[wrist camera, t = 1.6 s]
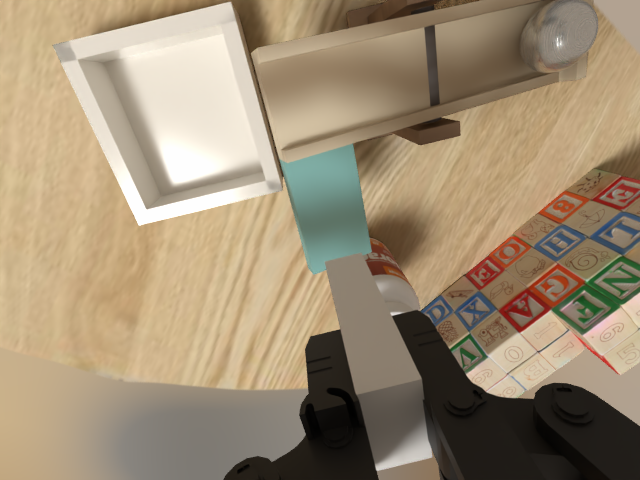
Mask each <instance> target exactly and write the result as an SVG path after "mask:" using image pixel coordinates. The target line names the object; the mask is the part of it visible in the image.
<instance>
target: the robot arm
mask: <svg viewBox="0 0 640 480" xmlns="http://www.w3.org/2000/svg"><path fill="white" fill-rule="evenodd" d="M325 266H326V270H327V274H328V278H329V283H330V287H331V291H332V295H333V300H334V304H335V308H336V312H337V317H338V321H339V325H340V330H336V331H331V332H327V333H323V334H319V335H315V336H311V337H310V339H309V341H308V344H307V346H306V348H305V353H306V363H307V364H306V366H307V378H308V390H309V394H308V395H307V396H306V398H305V399H304V401H303V402H302V404H301V408H300V414H299V416H300V419H301V421H302V424H303V427H304V430H305V433H306V436H305V437H304V439H303V440H302V441H301V442H300V443H299V445H298V446H297V447H295V448H294V449H293V450H291V451H290V452H288V453H287V454H285V455H283V456H282V457H280V458H278V459H277V460H276V461H273V462H271V461H270V460H269V459H268V458H263V457H259V456H257V457H252V458H247V459H245V460H243V461H242V462H240V463H238V464H236V465H235V466H234V467H233V468H232V469H231V470H230V471H229V472H228V473H227V475H226V476H225V478H224V480H379V479H378V475H377V471H378V470H382V469H387V468H391V467H395V466H399V465H403V464H407V463H411V462H415V461H419V460H423V459H428V458H432V452H431V448H432V451H433V453H434V456H435V458H436V460H437V463H438V465H439V473H440V480H640V426H639V425H637V424H636V423H635V422H633V421H632V420H630V419H629V418H627V417H626V416H625V415H623V414H622V413H620V412H619V411H618V410H616V409H615V408H613V407H612V406H610V405H609V404H608V403H606V402H605V401H603V400H602V399H600V398H599V397H598V396H596V395H595V394H593V393H591V392H589V391H587V390H585V389H583V388H581V387H578V386H574V385H571V384H567V383H552V384H548V385H545V386H542V387H541V388H540V389H539V390H538V391H537V392H536V393H535V397H534V399H523V398H507V397H500V396H496V395H493V394H489V393H487V392H486V391H485V390H484V389H483V388H481V387H480V386H478V385H476V384H474V383H472V382H471V380H470V379H469V378H468V377H467V375H466V374H465V372H464V371H463V369H462V367H461V366H460V364H459V363H458V361H457V360H456V358H455V357H454V355H453V353H452V352H451V350H450V349H449V347H448V346H447V344H446V342H445V341H444V340H443V338H442V336H441V335H440V333H439V332H438V331H437V328H436V327H435V325H434V324H433V322H432V321H431V319H430V318H429V317H428V316H426V315H425V314H423V313H422V312H420V311H418V310H414V311H410V312H406V313H401V314H397V315H393V316H391V314H390V311H389V309H388V307H387V305H386V303H385V301H384V299H383V297H382V295H381V293H380V290H379V288H378V286H377V284H376V282H375V280H374V278H373V276H372V274H371V272H370V270H369V267H368V265H367V263H366V261H365V259H364V257H363V255H362V253H358V254H353V255H349V256H345V257H341V258H337V259H333V260H329V261H325Z"/></svg>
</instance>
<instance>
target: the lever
mask: <svg viewBox="0 0 640 480" xmlns="http://www.w3.org/2000/svg"><path fill="white" fill-rule="evenodd" d="M553 1H555V0H481V1H476V2H471V3H467V4H462V5H457V6H452V7H448V8H443V9H438V10H434V5H432V6H427V7H423V8H419V9H416V10H414V11H411V15H410V16H405V17H400V18H396V19H391V20H386V21H381V22H377V23H372V24H367V25H362V26H358V27H353V28H348V29H343V30H339V31H334V32H329V33H324V34H320V35H315V36H310V37H305V38H301V39H296V40H291V41H286V42H282V43H277V44H272V45H267V46H263V47H258V48H256V49H255V50H254V51H253V52H252V53H251V56H252V60H253V63H254V67H255V71H256V75H257V78H258V82H259V86H260V89H261V93H262V97H263V101H264V104H265V108H266V112H267V116H268V119H269V123H270V127H271V130H272V134H273V138H274V142H275V145H276V149H277V153H278V157H279V160H280V164H281V168H282V171H283V175H284V179H285V183H286V186H287V190H288V194H289V197H290V201H291V205H292V209H293V212H294V216H295V220H296V224H297V227H298V231H299V235H300V238H301V242H302V246H303V250H304V253H305V257H306V261H307V264H308V268H309V269H310V271H311V272H312V273H313V274H317V273H320V272H322V271H325V270H326V266H325V261H329V260H333V259H337V258H341V257H345V256H349V255H353V254H358V253H362V255H366V254H368V253H371V252H372V250H371V244H370V239H369V233H368V227H367V221H366V216H365V210H364V204H363V199H362V193H361V187H360V181H359V176H358V170H357V164H356V159H355V153H354V147H353V143H356V142H359V141H363V140H366V139H369V138H373V137H376V136H379V135H383V134H386V133H389V132H393V131H396V130H399V129H403V128H406V127H409V126H413V125H416V124H419V123H432V122H437V121H440V120H441V119H442V117H443V116H446V115H449V114H453V113H456V112H459V111H463V110H466V109H469V108H473V107H476V106H479V105H482V104H486V103H489V102H492V101H496V100H499V99H502V98H506V97H509V96H512V95H516V94H519V93H522V92H526V91H529V90H532V89H536V88H539V87H542V86H546V85H549V84H552V83H556V82H560V81H573V80H579V79H582V78H585V77H586V71H587V60H588V52H587V53H586V55H585V56H584V57H583V58H582V59H581V60H579V61H578V62H577V63H575V64H574V65H572V66H571V67H569V68H567V69H565V70H562V71H559V72H554V73H541V72H537V71H535V70H532V69H531V68H529V67H528V66H527V65H526V64H525V63H524V61H523V59H522V57H521V55H520V49H519V44H520V37H521V34H522V31H523V29H524V27H525V25H526V24H527V22H528V21H529V19H530V18H531V17H532V16H533V15H534V14H535V13H536V12H537V11H538V10H539V9H540V8H542V7H543V6H545V5H547V4H548V3H550V2H553ZM583 1H585V2H587V3H588V4H589V5H591V6H592V8H593V0H583Z"/></svg>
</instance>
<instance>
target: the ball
mask: <svg viewBox="0 0 640 480" xmlns="http://www.w3.org/2000/svg"><path fill="white" fill-rule="evenodd" d="M597 31H598V18H597V15H596V12H595V11H594V9H593V8H592V6H591V5H589V4H588V3H587V2H585V1H583V0H555V1H553V2H550V3H548V4H547V5H545V6H543V7H542V8H540V9H539V10H538V11H537V12H536V13H535V14H534V15H533V16H532V17H531V18H530V19H529V21H528V22H527V24H526V25H525V27H524V29H523V31H522V34H521V37H520V44H519V49H520V55H521V57H522V59H523V61H524V63H525V64H526V65H527V66H528V67H529V68H531V69H532V70H535V71H537V72H541V73H554V72H559V71H562V70H565V69H567V68H569V67H571V66H572V65H574V64H575V63H577V62H578V61H579V60H581V59H582V58H583V57H584V56H585V55H586V53H587V52H588V51H589V50H590V48H591V47H592V45H593V43H594V41H595V38H596V35H597Z"/></svg>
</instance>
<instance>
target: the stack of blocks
mask: <svg viewBox="0 0 640 480" xmlns="http://www.w3.org/2000/svg"><path fill="white" fill-rule="evenodd" d="M421 312H422V313H423V314H425V315H426V316H428V317H429V318H430V319H431V321H432V322H433V324H434V325H435V327H436V328H437V331H438V332H439V333H440V335H441V336H442V338H443V340H444V341H445V342H446V344H447V346H448V347H449V349H450V350H451V352H452V353H453V355H454V357H455V358H456V360H457V361H458V363H459V364H460V366H461V367H462V369H463V371H464V372H465V374H466V375H467V377H468V378H469V379H470V380H471V382H472V383H474V384H476V385H478V386H480V387H481V388H483V389H484V390H485V391H486V392H487V393H489V394H493V395H496V396H500V397H507V398H517V397H519V396H520V395H521V394H523V393H524V392H525V390H530V389H531V388H532V387H534V386H535V385H537V384H538V383H539V382H541V381H542V380H544V379H545V378H546V377H548V376H549V375H551V374H552V373H553V372H555V370H556V369H559V368H561V367H562V366H564V365H565V364H566V363H568V362H569V361H570V360H572V359H573V358H574V357H576V356H577V355H578V354H580V353H581V352H582V351H583V350H584V349H585V347H587V348H588V349H589V350H590V351H591V352H592V353H593V354H595V355H596V356H597V357H598V358H600V359H601V360H602V361H603V362H605V363H606V364H607V365H608V366H609V367H610V368H611V369H613V370H614V371H615V372H616V373H617V374H619V375H621V374H623V373H624V372H626V371H627V370H629V369H630V368H632V367H633V366H635V365H636V364H638V363H639V362H640V180H637V179H633V178H628V177H622V176H621V175H618V174H614V173H610V172H606V171H602V170H598V169H592V170H591V171H589V172H588V173H587V174H586V175H585V176H583V177H582V178H581V179H580V180H578V181H577V182H576V183H575V184H574V185H572V186H571V187H570V188H569V189H567V190H566V191H564V192H563V193H561V194H560V195H559V196H558V197H557V198H555V199H554V200H553V201H552V202H551V203H549V204H548V205H547V206H546V207H544V208H543V209H542V210H541V211H540V212H539V213H538V214H536V215H535V216H534V217H532V218H531V219H530V220H529V221H527V222H526V223H525V224H524V225H522V226H521V227H520V228H519V229H518V230H516V231H515V232H514V233H513V235H512V236H511V237H510V238H508V239H507V240H506V241H505V242H504V243H503V244H501V245H500V246H499V247H498V248H497V249H495V250H494V251H493V252H492V253H491V254H489V256H488V257H486V258H485V259H484V260H483V261H482V262H480V263H479V264H478V265H477V266H475V267H474V268H473V269H472V270H471V271H469V272H468V273H467V274H466V275H465V276H462V277H461V278H460V279H459V280H458V281H456V282H455V283H454V284H453V285H452V286H450V287H449V288H448V289H447V290H446V291H444V292H443V293H442V294H441V295H440V296H438V297H437V298H436V299H435V300H434V301H432V302H431V303H430V304H429V305H428V306H427V307H425V308H424V309H423V310H422V311H421Z"/></svg>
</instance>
